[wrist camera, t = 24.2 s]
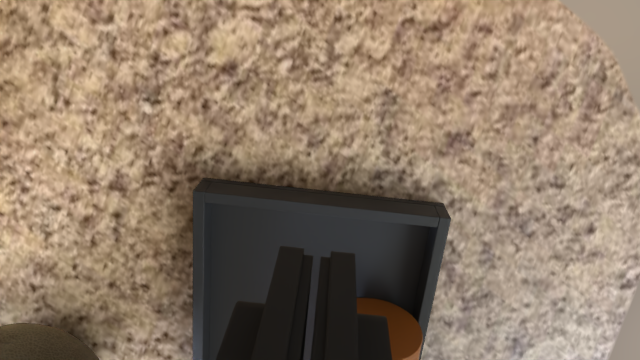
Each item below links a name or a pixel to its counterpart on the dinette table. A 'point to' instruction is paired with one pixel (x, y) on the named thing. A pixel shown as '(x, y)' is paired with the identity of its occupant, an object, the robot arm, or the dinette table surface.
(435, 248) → the tray
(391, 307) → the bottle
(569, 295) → the dinette table surface
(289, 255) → the robot arm
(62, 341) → the dark grey rock
